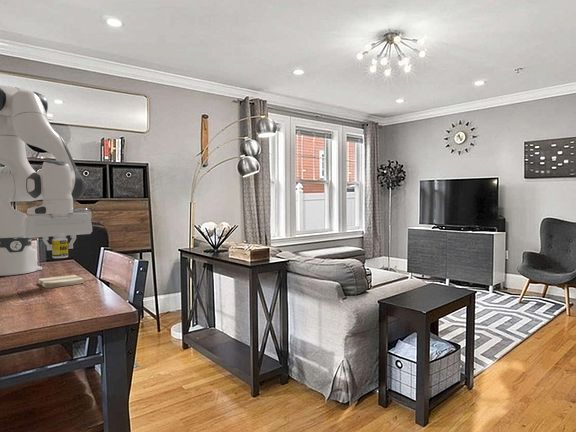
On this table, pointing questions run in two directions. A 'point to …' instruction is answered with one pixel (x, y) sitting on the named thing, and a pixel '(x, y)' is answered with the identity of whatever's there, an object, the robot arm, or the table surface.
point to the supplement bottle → (60, 246)
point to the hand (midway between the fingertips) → (60, 249)
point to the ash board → (60, 281)
